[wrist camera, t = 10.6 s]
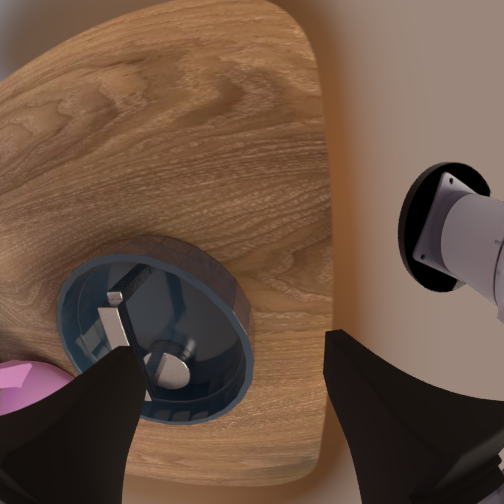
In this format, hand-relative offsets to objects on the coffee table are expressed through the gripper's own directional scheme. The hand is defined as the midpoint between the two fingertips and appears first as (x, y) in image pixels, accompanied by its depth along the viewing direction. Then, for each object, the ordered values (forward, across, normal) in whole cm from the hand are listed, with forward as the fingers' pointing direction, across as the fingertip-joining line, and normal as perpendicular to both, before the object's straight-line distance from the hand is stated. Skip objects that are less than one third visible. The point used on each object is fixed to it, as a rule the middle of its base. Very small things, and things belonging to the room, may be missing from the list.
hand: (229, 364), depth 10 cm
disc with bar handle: (+10, +6, +4) cm, 12 cm away
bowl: (+10, +6, +4) cm, 13 cm away
